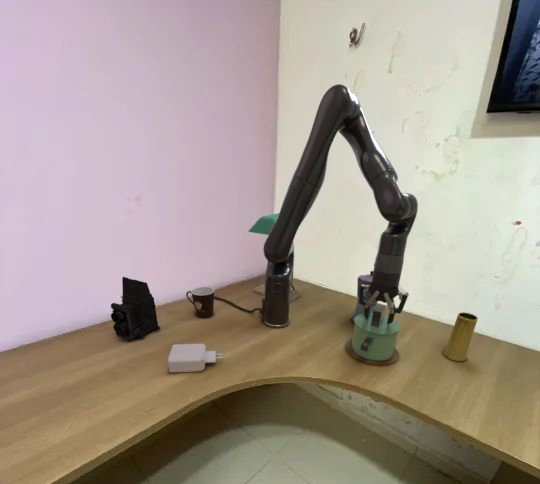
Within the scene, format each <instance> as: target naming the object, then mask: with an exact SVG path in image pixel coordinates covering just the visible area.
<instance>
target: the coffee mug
mask: <svg viewBox="0 0 540 484" xmlns="http://www.w3.org/2000/svg"><path fill="white" fill-rule="evenodd" d="M189 294H191V297H192V300H191V298H190V296H189ZM185 296H186V298H187V300H188V301H189V302H190V303H191V304H192V305H193V306H194V310H195V315H196V317H197V318H199V319H209V318H211V317H213V316H214V306H215V305H214V304H215V298H214V296H215V289H214V288H213V287H209V286H201V287H195V288H193V289H192V290H188V291H187V292H186V294H185Z"/></svg>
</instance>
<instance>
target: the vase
mask: <svg viewBox="0 0 540 484" xmlns="http://www.w3.org/2000/svg"><path fill="white" fill-rule="evenodd" d="M478 320H479V317H478V316H477V315H475V314H473V313H470V312H466V311H465V312H462V311H461V312H458V313H457V317H456V320H455V323H454V325H453V328H452V331H451V333H450V337H449V339H448V341H447V344H446V347H445V349H444V352H443V354H444V356H445V357H446V358H447V359H449V360H452V361H454V362H464V361H466V360H467V359H466V357H467V354H468V350H469V348H470V344H471V341H472V338H473V334H474V332H475V330H476V329H475V328H476V326H477V322H478Z"/></svg>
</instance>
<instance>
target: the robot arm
mask: <svg viewBox="0 0 540 484" xmlns="http://www.w3.org/2000/svg"><path fill="white" fill-rule="evenodd" d="M360 103H361V102H360V100H359V98H358V97H357V96H356V94H354V92H353V91H352V90H350V89H349V88H348V87H347V86H345V85H344V84H340V83H337V84H334V85H332V86H330V87H329V88H328V89H327V90H326V91H325V93H324V94H323V95H322V97H321V100H320V102H319V105H318V108H317V110H316V114H315V116H314V121H313V123H312V126H311V130H310V133H309V136H308V139H307V141H306V144H305V146H304V148H303V151H302V154H301V156H300V159H299V161H298V164H297V166H296V169H295V170H294V172H293V175H292V177H291V180H290V182H289V185H288V187H287V190H286V193H285V195H284V199H283V201H282V204H281V207H280V210H279V212H278V213H279V216H278V218H277V221H276V223H275V225H274V227H273V228H272V230H271V232H270V234H269V235H267V238H266V239H265V241H264V243H263V248H262V251H263V255H264V257H265V260H267V262H266V269H265V271H264V284H265V295H264V297H263V298H262V300H261V302H262V303H261V307H255V308H253V309H252V310H249V309H246V308H243V307H242V306H240V305H237V304H235V303H234V302H232V301H231V300H228V299H225V298H222V297H219V296H215V295H214V299H215V300H220V301H223V302H226V303H228V304H230V305H232V306H234V307H235V308H237V309H239V310H241V311H243V312H246V313H251V314H252V313H254V312H257V311H259V315H261V322H262V323H264V324H265V326H268V327H270V328H279V329H280V328H284V327H286V326H288V325H289V323H290V313H291V311H290V308H291V307H290V305H291V304H290V303H291V302H290V288H291V274H292V269H293V270H294V268H293V257H294V258H295V243H294V240H295V237H296V235H297V232H298V230H299V228H300V226H301V225H302V222H304V220H305V218H306V217H307V216H308V214H309V212H310V211H311V209H312V207H313V205H314V204H315V202H316V200H317V198H318V196H319V194H320V192H321V190H322V187H323V185H324V182H325V179H326V174H327V167H328V160H329V154H330V150H331V147H332V144H333V142H334V140H335V138H336V135H337V134H338V133H339V134H340V135H341V136H342V138H344V139H345V141H346V142H347V143H348V145H349V146H350V148H351V149H352V152H353V154H354V157H355V160H356V163H357V166H358V168H359V170H360V173H361V175H362V176H363V178H364V179H365V181H366V183H367V185H368V187H369V188H370V190H371V191H372V194H373V198H374V201H375V204H376V208H377V209H378V212H379V214H380V215H381V217H382V218H383V219H384V220H385V221H387V222H388V223H387V227H386V228H385V230H384V231H382V232H381V234H380V237H379V242H378V247H377V252H376V256H375V260H374V264H373V270H372V271H373V276H372V282H371V285H365V284H362V285H361V286H360V287H359V303H360V304H361V305H364V306H365V311H364V316H365V319H368V318H369V316H370V310H371V306H370V305H371V303H372V302H373V301H374V300H375V301H378V302H382V303H385V304H386V307H387V308H388V310H389V313H388V315H387V316H388V321H387V324H390V323H392V322H393V320H394V319H395V315H396V314H401V313H402V312H403V310H404V308H405V305H406V302H407V301H408V298H409V295H410V294H409V292H408V291H407V292H402V291H400V289H399V287H400V280H401V276H402V272H403V267H404V262H405V261H404V260H405V253H406V248H407V243H408V237H409V235H410V233H411V231H412V229H413V226H414V223H415V221H416V218H417V214H418V209H419V203H418V199H417V197H416V196H415V195H414V194H412V193H409V192H402V191H401V190H400V187H399V185H398V184H397V183H398V181H399V175H398V173H397V171H396V170H395V168H394V166H393V165H392V163H391V161H390V160H389V158H388V157H387V155H386V153H385V152H384V150H383V149H382V147H381V146H380V144H379V143H378V142H377V140H376V138H375V136H374V135H373V133H372V130H371V129H370V127H369V124H368V121H367V119H366V117H365V113H364V111H363V107H362V106H361V104H360ZM368 289H369V291H370V292H371V294H372V297H371V298H370V299H369V301H366V292H367V290H368ZM396 297H398V299H399V300H400V301H399V304H398V306H397V307H396V304H395V298H396Z"/></svg>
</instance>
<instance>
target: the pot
mask: <svg viewBox="0 0 540 484" xmlns="http://www.w3.org/2000/svg"><path fill="white" fill-rule="evenodd" d="M386 310H387V305H385V304H380V303H377V307H376V308H375V309H374V311H373V313H370V316H369V318H368V319H365V316H364V314H360V315H358V316H356V317H355V319H354V322H353V324H354V328H353V334H352V339H353V340H352V339H351V340H352V349H353V351H354V352H355V353H356V354H358V355H359V356H361V357H363V358H366V359H370V360H377V361H382V360H387V359H390V358H391V357H392V356H393V354H394V350H395V349H396V345H397V341H398V335H399V333H400V332H401V329H402V325H401V323H400V322H399V321H398V320H396V319H395V318H394V320H393V322H392V323H390V324H387V321H388V316H389V315H386Z"/></svg>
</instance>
